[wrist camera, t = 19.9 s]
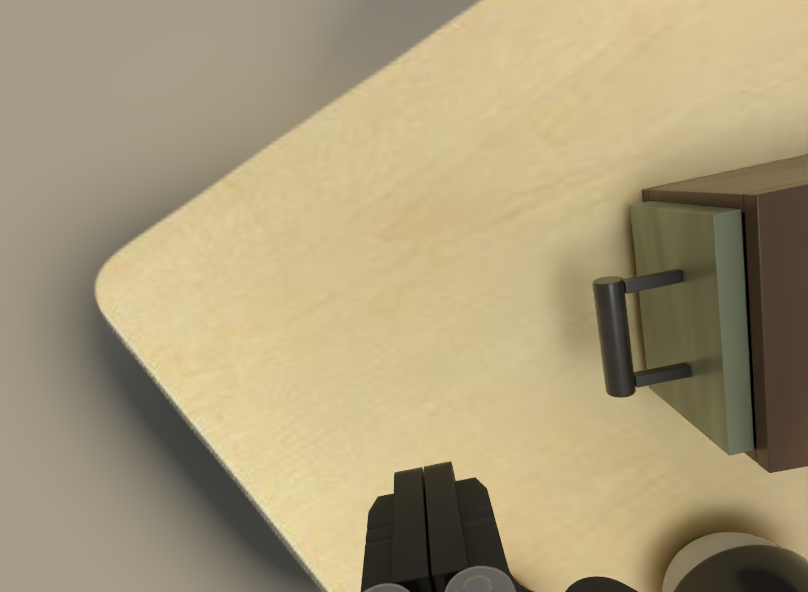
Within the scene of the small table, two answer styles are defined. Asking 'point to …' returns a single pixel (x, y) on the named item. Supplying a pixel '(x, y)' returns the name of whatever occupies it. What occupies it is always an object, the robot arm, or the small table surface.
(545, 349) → the small table surface
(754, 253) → the cabinet
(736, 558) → the black egg shaped container
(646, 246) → the drawer
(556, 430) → the small table surface
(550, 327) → the small table surface
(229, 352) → the small table surface
